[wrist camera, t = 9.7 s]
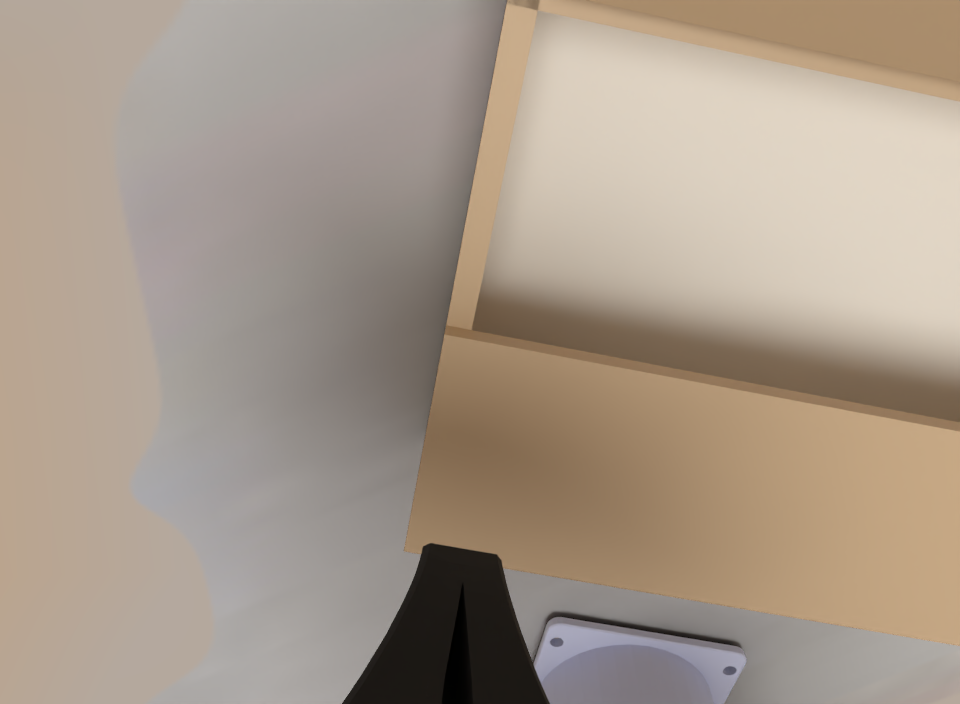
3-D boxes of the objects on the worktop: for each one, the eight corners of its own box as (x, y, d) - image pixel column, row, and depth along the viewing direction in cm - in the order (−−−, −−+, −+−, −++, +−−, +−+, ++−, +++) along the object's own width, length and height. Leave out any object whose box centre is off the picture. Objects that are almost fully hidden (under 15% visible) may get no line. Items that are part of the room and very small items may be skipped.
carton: (979, 535, 25) (1097, 669, 20) (425, 435, 24) (403, 551, 19) (1252, 137, 18) (1525, 188, 13) (511, -25, 17) (513, -34, 12)
